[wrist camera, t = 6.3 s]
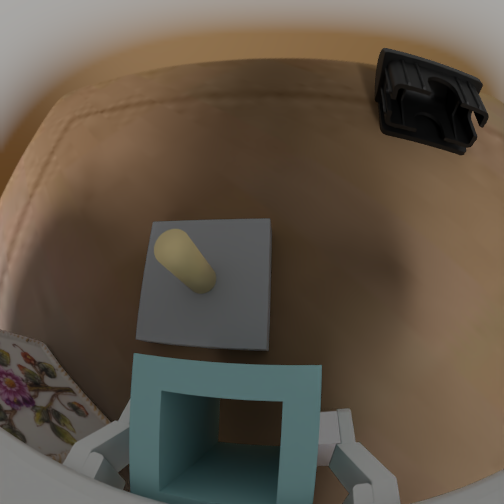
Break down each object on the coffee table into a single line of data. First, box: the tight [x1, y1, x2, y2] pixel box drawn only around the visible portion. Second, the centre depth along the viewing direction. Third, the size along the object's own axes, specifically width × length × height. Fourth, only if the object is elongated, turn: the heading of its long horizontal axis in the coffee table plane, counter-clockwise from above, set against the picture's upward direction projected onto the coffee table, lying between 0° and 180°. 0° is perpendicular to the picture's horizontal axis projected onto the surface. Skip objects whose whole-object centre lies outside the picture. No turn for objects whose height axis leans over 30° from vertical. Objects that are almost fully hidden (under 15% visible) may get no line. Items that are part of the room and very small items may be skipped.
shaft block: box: [136, 219, 272, 351], centre depth 16 cm, size 8×8×7 cm
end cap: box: [375, 48, 488, 155], centre depth 20 cm, size 10×7×7 cm
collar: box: [129, 353, 322, 504], centre depth 10 cm, size 5×5×8 cm
